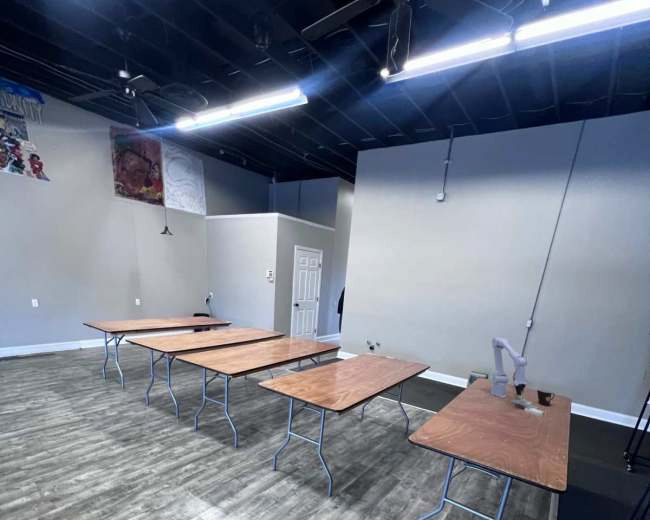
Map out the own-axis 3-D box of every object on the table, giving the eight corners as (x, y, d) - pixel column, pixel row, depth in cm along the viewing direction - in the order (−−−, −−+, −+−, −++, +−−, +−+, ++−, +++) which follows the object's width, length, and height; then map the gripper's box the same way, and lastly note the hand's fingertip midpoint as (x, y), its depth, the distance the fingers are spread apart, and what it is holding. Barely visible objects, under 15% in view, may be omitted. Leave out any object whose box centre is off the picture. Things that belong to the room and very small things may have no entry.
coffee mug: (538, 405, 215) (538, 391, 215) (535, 401, 223) (535, 387, 223) (558, 408, 210) (558, 394, 211) (554, 404, 218) (554, 390, 219)
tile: (524, 408, 202) (540, 413, 195) (528, 406, 206) (543, 411, 199) (524, 411, 202) (540, 416, 195) (528, 409, 206) (543, 414, 199)
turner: (512, 398, 209) (513, 388, 209) (515, 397, 213) (517, 387, 213) (529, 405, 201) (530, 394, 201) (532, 403, 205) (533, 393, 205)
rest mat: (510, 402, 217) (510, 401, 217) (514, 400, 222) (514, 399, 222) (535, 410, 205) (535, 409, 205) (539, 407, 210) (539, 407, 210)
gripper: (522, 378, 202) (522, 398, 201) (530, 375, 211) (529, 394, 210) (511, 375, 207) (510, 394, 206) (518, 372, 216) (518, 391, 215)
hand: (519, 394), depth 208 cm, fingers closed on turner, 2 cm apart
